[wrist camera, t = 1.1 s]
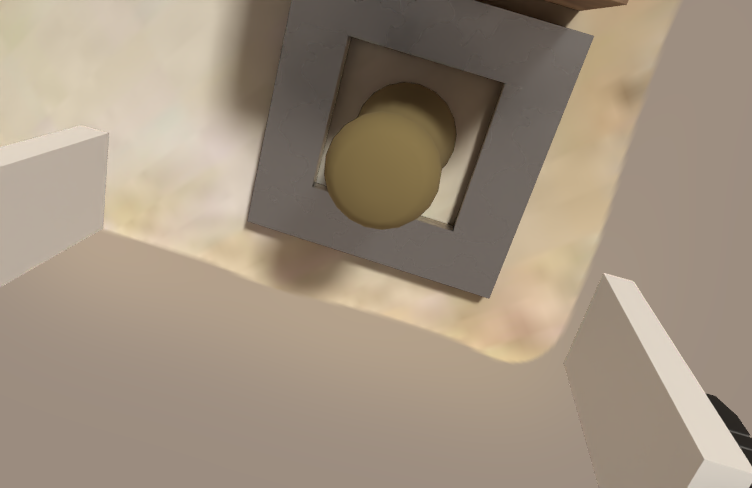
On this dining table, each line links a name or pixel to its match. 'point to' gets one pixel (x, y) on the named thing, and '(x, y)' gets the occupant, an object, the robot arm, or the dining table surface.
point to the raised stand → (588, 3)
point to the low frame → (497, 155)
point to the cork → (391, 156)
